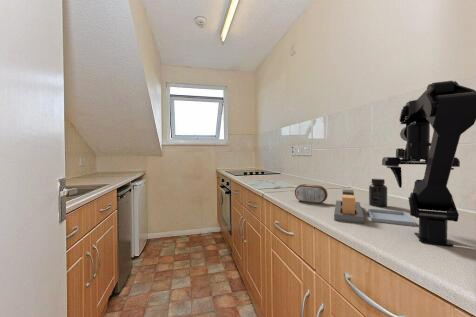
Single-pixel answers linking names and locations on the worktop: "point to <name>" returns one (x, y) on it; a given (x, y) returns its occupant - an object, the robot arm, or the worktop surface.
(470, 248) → the worktop surface
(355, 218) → the grey slotted frame
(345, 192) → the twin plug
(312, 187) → the portable speaker
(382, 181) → the supplement bottle
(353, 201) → the orange block
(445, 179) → the robot arm
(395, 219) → the tray
